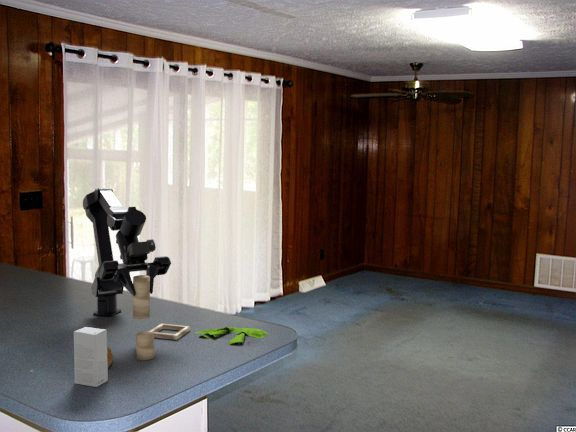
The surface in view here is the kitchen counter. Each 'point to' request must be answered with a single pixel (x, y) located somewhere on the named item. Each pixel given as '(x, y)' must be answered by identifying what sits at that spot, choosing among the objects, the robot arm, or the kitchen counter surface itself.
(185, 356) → the kitchen counter surface
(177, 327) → the birch collar
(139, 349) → the short beech pin
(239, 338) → the cloth
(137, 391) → the kitchen counter surface
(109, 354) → the pastry
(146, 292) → the tall beech pin
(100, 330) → the skincare box
